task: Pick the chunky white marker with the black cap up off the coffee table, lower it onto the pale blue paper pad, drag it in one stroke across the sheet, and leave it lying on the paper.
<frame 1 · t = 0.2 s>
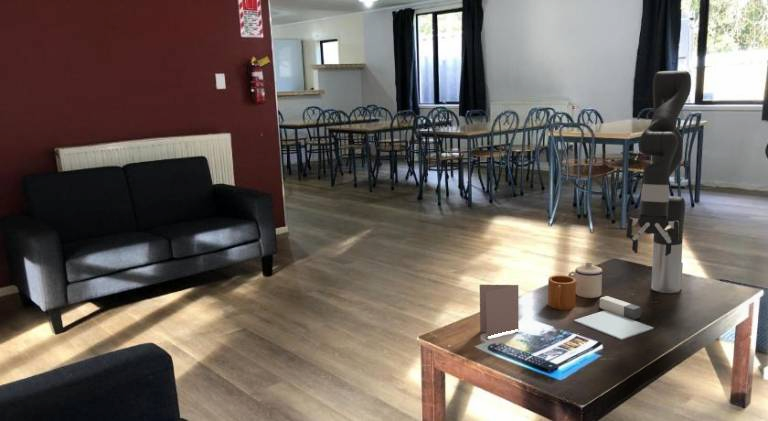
hand: (651, 254, 188), 22 cm above the table, fingers open, 8 cm apart
greeting card: (499, 336, 190), on the table
mug: (559, 307, 211), on the table
marker: (619, 312, 204), on the table
paper pad: (612, 324, 194), on the table
teacup with lid: (584, 293, 222), on the table
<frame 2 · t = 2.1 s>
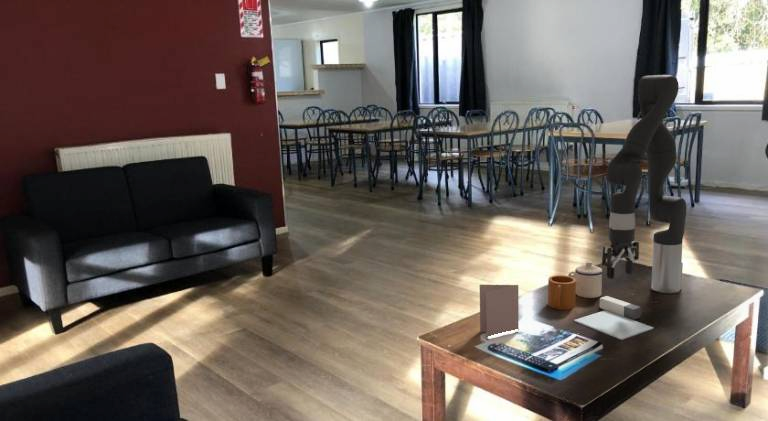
hand: (619, 275, 201), 12 cm above the table, fingers open, 8 cm apart
nothing on the table moved.
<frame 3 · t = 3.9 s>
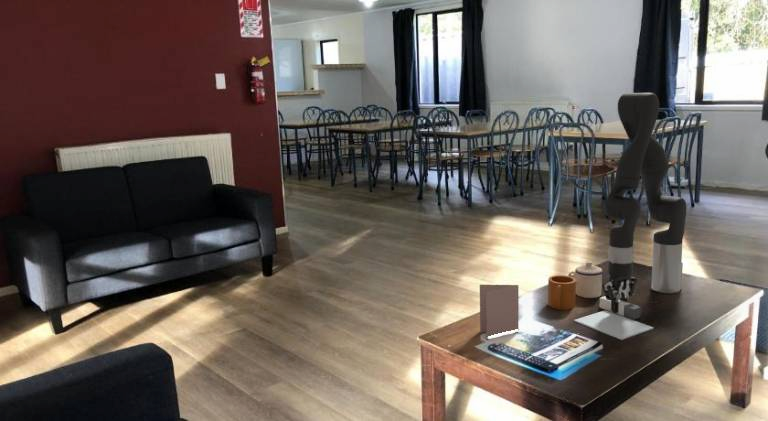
hand: (618, 310, 204), 1 cm above the table, fingers closed on marker, 3 cm apart
marker: (618, 312, 204), on the table, touching gripper
everything else where it was.
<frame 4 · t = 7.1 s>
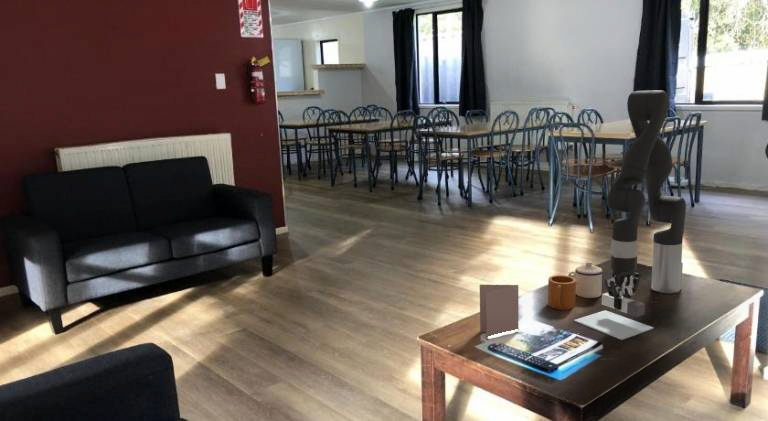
hand: (622, 307, 195), 5 cm above the table, fingers closed on marker, 3 cm apart
marker: (622, 309, 195), point 4 cm above the table, touching gripper
everything else where it was.
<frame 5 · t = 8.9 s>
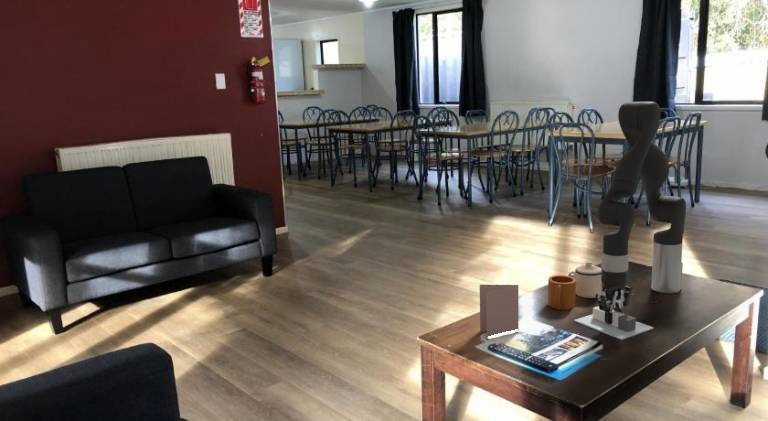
hand: (612, 321, 193), 1 cm above the table, fingers closed on marker, 3 cm apart
marker: (612, 323, 193), point 1 cm above the table, touching gripper
everything else where it was.
when the fingers open (2 cm above the table, at t = 10.5 s): marker drops 1 cm, resting on paper pad.
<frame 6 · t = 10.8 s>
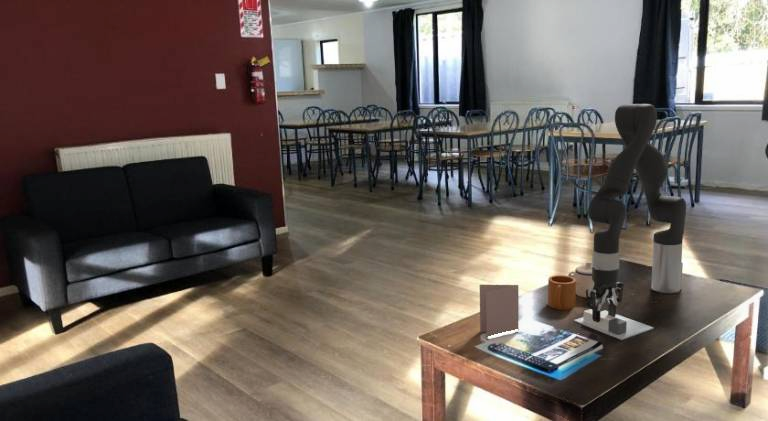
hand: (604, 318, 191), 3 cm above the table, fingers open, 6 cm apart
marker: (603, 326, 192), resting on paper pad
everything else where it was.
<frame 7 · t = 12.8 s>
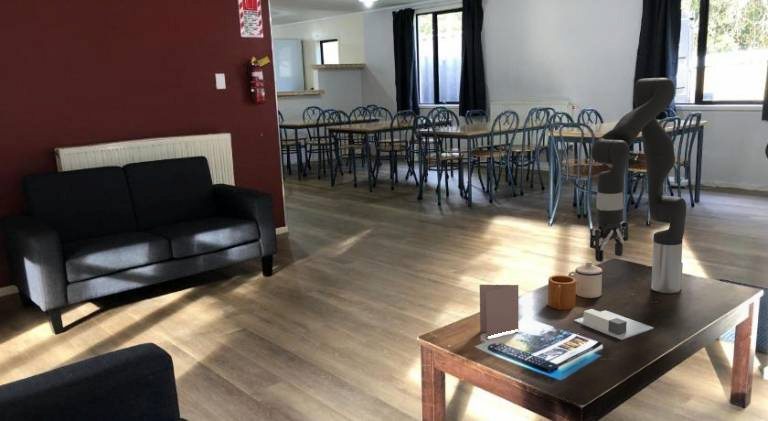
hand: (609, 258, 193), 20 cm above the table, fingers open, 8 cm apart
nothing on the table moved.
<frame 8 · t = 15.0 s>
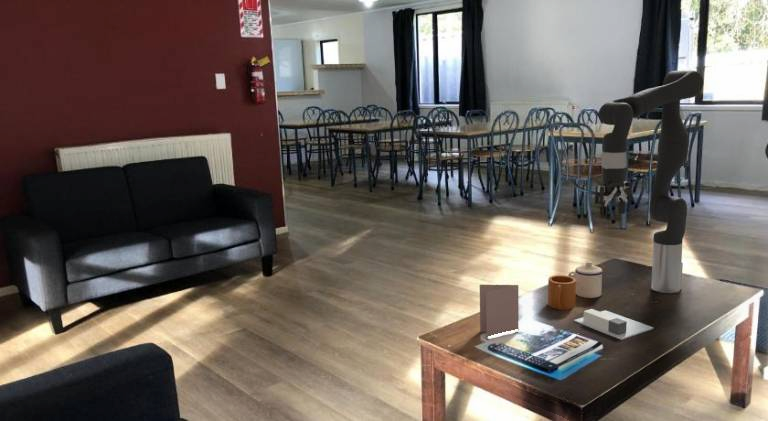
hand: (612, 215, 206), 30 cm above the table, fingers open, 8 cm apart
nothing on the table moved.
at the end: marker inside the target area on the paper pad (0.0 cm from its centre), point 0.4 cm above the paper pad's base; marker moved 15.2 cm from its start; the gripper is holding nothing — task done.
